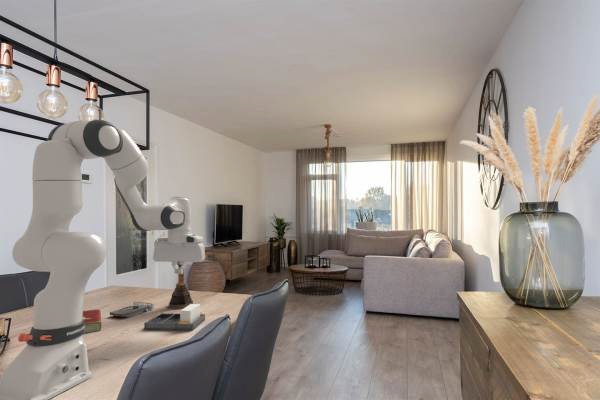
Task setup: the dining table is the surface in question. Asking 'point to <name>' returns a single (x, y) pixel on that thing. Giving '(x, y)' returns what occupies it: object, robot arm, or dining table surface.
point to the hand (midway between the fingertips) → (178, 273)
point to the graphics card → (133, 309)
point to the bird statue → (180, 293)
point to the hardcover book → (92, 320)
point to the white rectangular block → (190, 313)
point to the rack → (172, 322)
